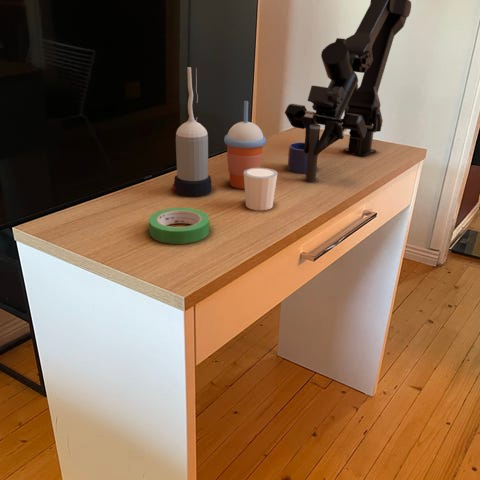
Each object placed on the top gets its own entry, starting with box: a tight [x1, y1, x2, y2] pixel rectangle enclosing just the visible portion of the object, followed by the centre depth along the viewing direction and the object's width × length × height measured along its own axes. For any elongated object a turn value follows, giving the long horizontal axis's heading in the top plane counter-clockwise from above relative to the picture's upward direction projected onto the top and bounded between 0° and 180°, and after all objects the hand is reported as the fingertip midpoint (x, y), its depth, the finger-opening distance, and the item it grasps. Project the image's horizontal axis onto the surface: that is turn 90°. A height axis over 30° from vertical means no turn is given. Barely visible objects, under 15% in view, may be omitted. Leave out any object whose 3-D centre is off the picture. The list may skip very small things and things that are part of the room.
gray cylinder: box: [305, 124, 321, 183], centre depth 131 cm, size 2×2×12 cm
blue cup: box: [287, 141, 308, 174], centre depth 140 cm, size 7×7×6 cm
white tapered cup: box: [244, 167, 278, 211], centre depth 118 cm, size 7×7×7 cm
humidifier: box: [172, 66, 212, 198], centre depth 120 cm, size 8×8×25 cm
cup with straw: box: [223, 100, 267, 190], centre depth 126 cm, size 9×9×18 cm
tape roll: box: [148, 207, 210, 245], centre depth 107 cm, size 11×11×3 cm
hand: (309, 153), depth 129 cm, fingers closed on gray cylinder, 2 cm apart
